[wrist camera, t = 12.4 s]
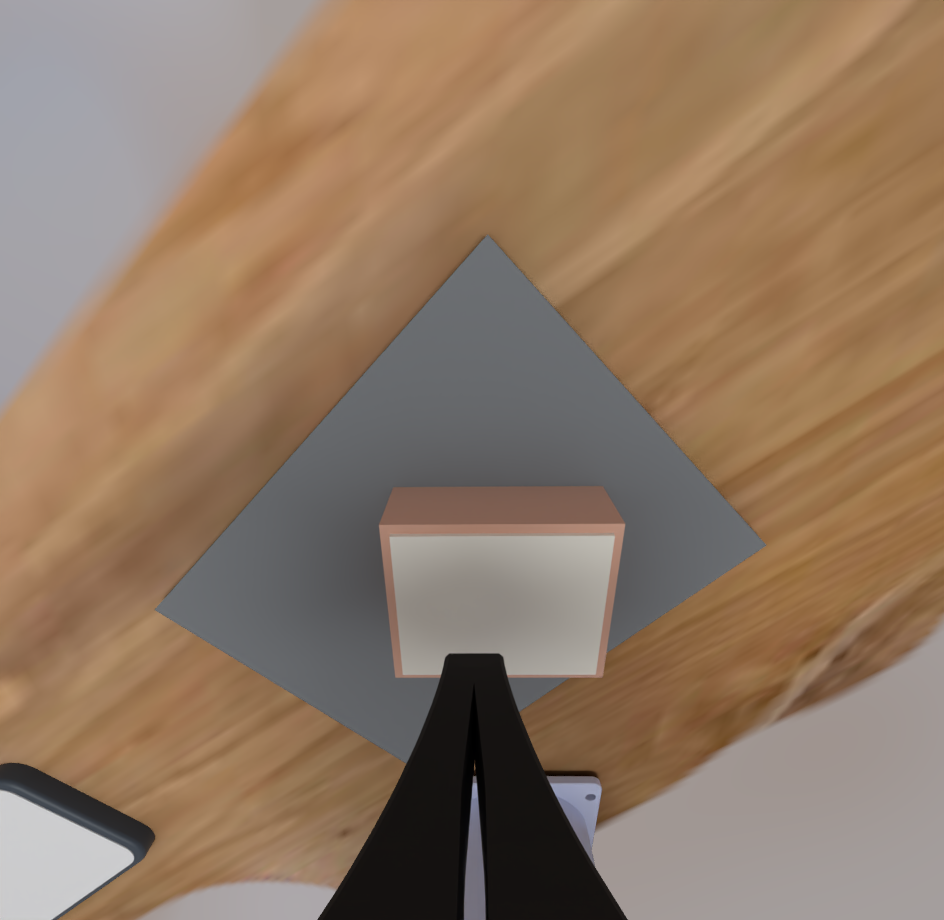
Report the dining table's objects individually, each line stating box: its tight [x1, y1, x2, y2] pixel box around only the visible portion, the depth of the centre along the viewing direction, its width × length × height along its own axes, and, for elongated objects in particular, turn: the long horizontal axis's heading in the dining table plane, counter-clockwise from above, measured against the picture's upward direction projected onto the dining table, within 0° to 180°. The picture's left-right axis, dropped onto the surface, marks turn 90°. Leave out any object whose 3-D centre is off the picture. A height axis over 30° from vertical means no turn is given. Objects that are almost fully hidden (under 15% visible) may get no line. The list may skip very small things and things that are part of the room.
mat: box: [155, 235, 766, 764], centre depth 16 cm, size 18×14×1 cm
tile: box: [379, 486, 625, 678], centre depth 15 cm, size 6×3×7 cm
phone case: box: [0, 763, 155, 920], centre depth 24 cm, size 9×2×16 cm
